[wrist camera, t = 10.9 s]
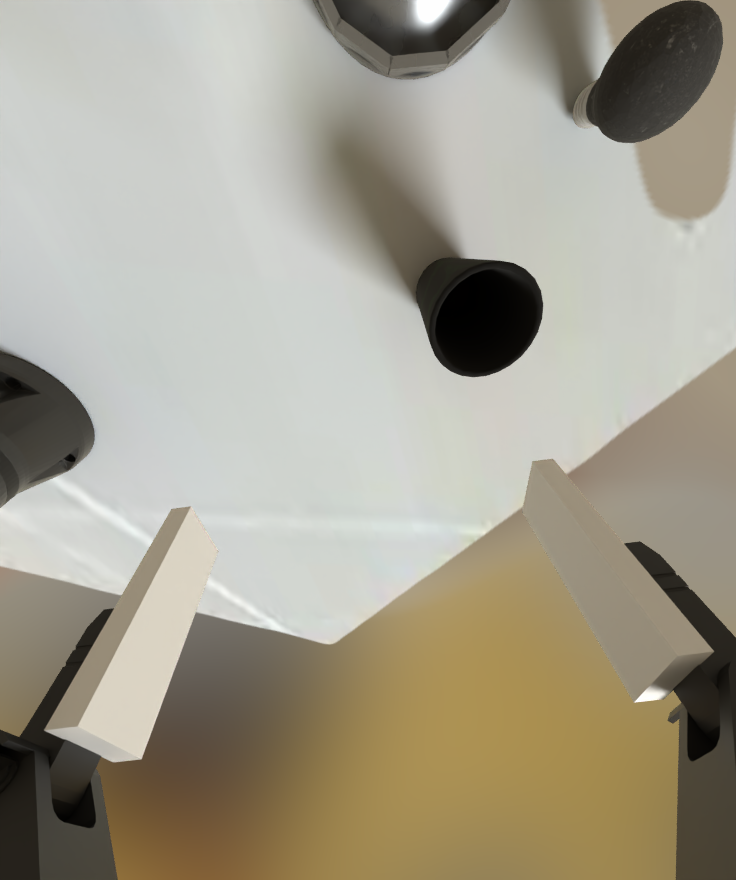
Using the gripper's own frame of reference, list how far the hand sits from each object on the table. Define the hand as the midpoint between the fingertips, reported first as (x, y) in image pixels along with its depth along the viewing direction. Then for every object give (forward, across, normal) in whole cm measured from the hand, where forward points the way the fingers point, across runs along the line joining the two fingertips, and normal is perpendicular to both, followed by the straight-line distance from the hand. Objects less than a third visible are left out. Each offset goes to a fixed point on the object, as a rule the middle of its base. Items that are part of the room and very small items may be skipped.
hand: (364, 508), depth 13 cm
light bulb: (+25, +20, +14) cm, 35 cm away
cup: (+25, +9, +2) cm, 27 cm away
